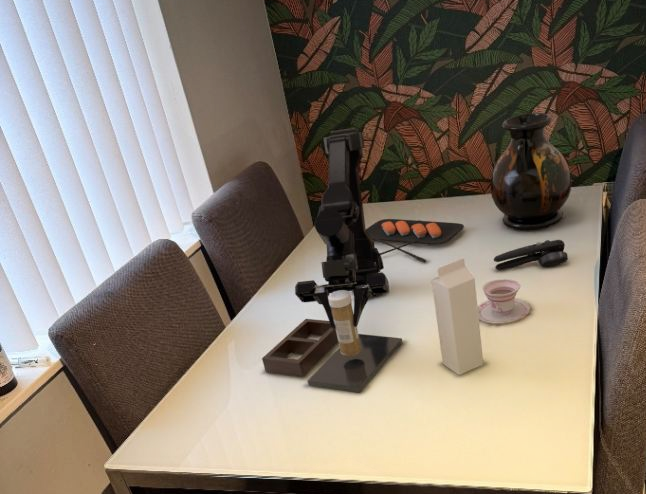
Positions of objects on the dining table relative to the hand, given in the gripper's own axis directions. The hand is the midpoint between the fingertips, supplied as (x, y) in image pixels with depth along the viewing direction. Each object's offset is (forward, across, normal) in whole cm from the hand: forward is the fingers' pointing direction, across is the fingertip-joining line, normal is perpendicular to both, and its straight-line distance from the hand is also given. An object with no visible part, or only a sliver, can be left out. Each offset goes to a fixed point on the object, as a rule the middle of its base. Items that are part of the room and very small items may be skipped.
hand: (344, 327), depth 154 cm
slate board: (+6, +1, +7) cm, 9 cm away
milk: (+9, +23, +4) cm, 25 cm away
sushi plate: (-38, +6, +52) cm, 64 cm away
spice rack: (+1, -11, +12) cm, 16 cm away
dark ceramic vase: (-42, +43, +57) cm, 83 cm away
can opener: (-22, +40, +36) cm, 58 cm away
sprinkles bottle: (+4, 0, +6) cm, 7 cm away
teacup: (-5, +32, +19) cm, 38 cm away
